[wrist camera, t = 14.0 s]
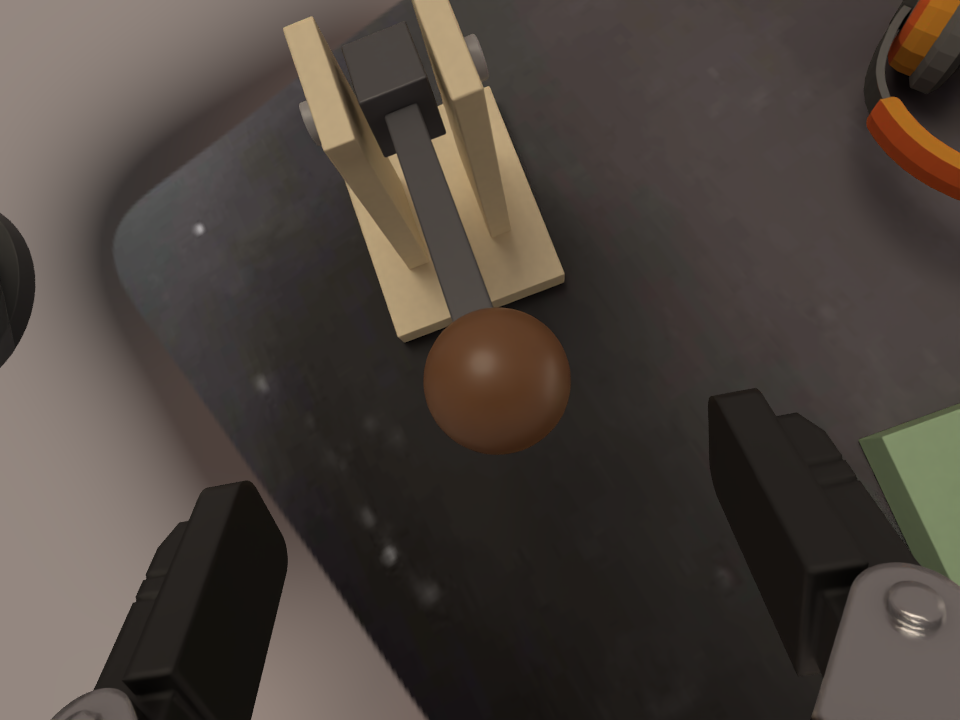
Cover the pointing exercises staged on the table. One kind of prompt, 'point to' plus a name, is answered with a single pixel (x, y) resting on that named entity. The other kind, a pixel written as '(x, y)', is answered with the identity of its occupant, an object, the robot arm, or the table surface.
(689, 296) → the table surface
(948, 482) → the control block
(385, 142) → the lever
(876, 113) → the headphones
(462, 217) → the switch bracket
